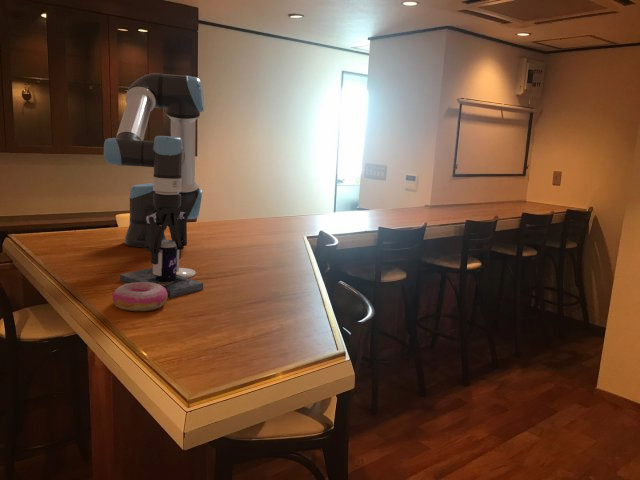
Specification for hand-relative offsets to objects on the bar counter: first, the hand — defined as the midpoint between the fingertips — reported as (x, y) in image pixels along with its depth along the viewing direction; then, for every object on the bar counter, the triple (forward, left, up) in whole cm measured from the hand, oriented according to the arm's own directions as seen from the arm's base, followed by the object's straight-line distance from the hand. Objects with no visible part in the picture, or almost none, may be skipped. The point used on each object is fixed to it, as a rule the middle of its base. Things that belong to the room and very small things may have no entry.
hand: (166, 272), depth 151 cm
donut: (+8, -15, -5) cm, 18 cm away
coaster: (-8, +12, -4) cm, 15 cm away
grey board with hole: (-2, 0, -4) cm, 5 cm away
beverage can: (0, 0, -3) cm, 3 cm away
